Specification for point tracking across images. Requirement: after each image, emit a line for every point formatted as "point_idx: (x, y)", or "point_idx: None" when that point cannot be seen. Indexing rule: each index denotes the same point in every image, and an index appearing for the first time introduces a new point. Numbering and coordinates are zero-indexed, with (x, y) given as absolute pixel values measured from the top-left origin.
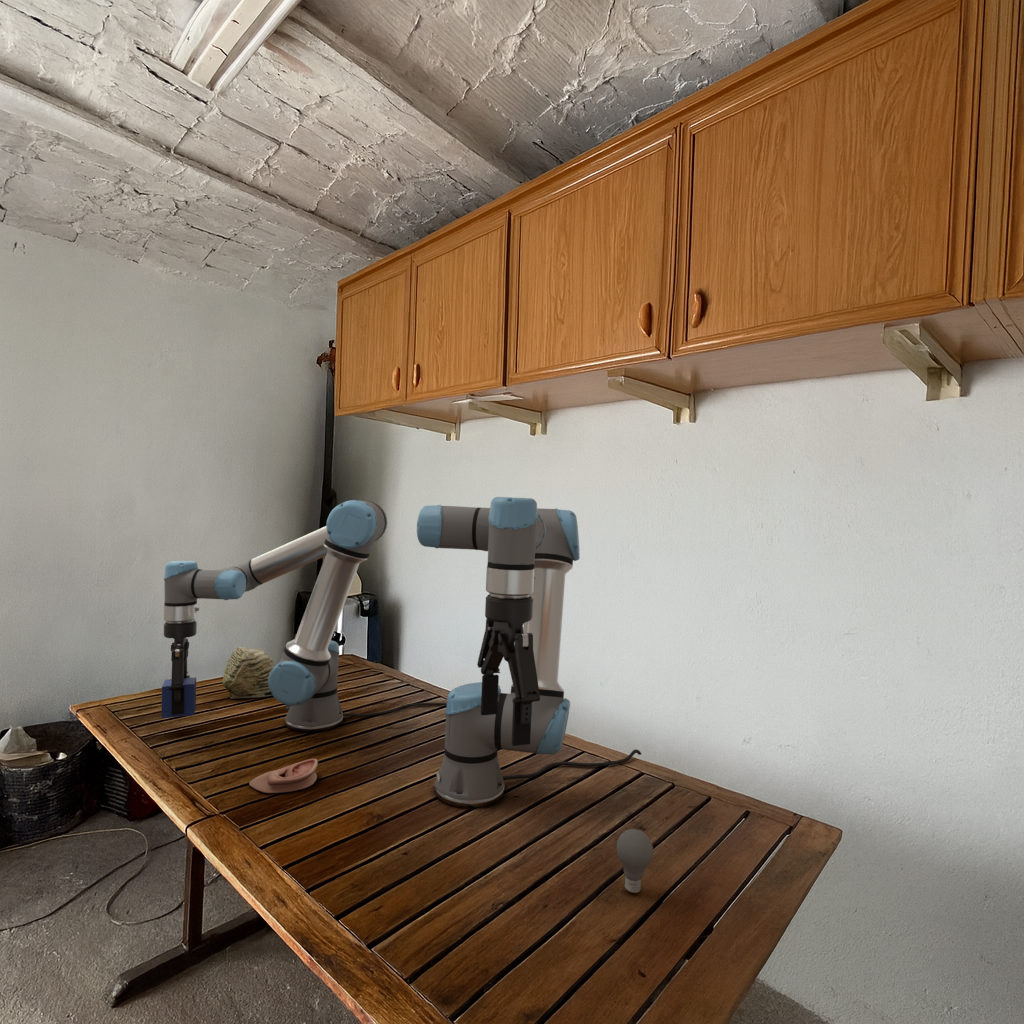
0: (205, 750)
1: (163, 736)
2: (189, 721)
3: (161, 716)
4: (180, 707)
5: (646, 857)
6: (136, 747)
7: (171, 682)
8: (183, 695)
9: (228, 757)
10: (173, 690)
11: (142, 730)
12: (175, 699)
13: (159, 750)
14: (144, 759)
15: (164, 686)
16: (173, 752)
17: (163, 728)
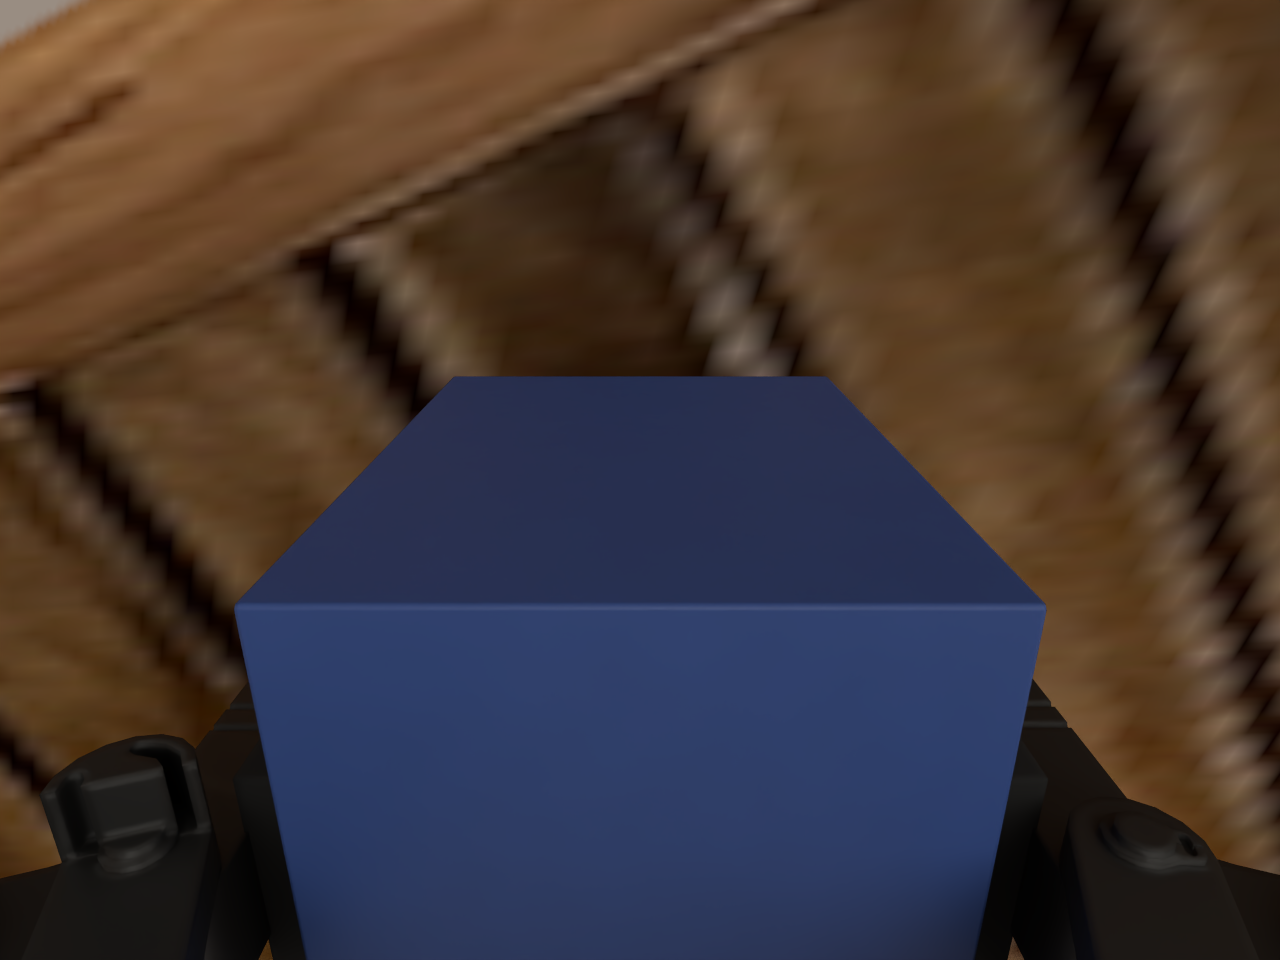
0: (197, 687)
1: (618, 332)
2: (993, 527)
3: (449, 382)
4: None
5: None
6: (343, 96)
7: (633, 787)
8: None
9: (46, 826)
10: (254, 783)
11: (889, 78)
12: (244, 710)
13: (232, 339)
14: (7, 230)
15: (251, 665)
16: (171, 463)
17: (871, 304)
